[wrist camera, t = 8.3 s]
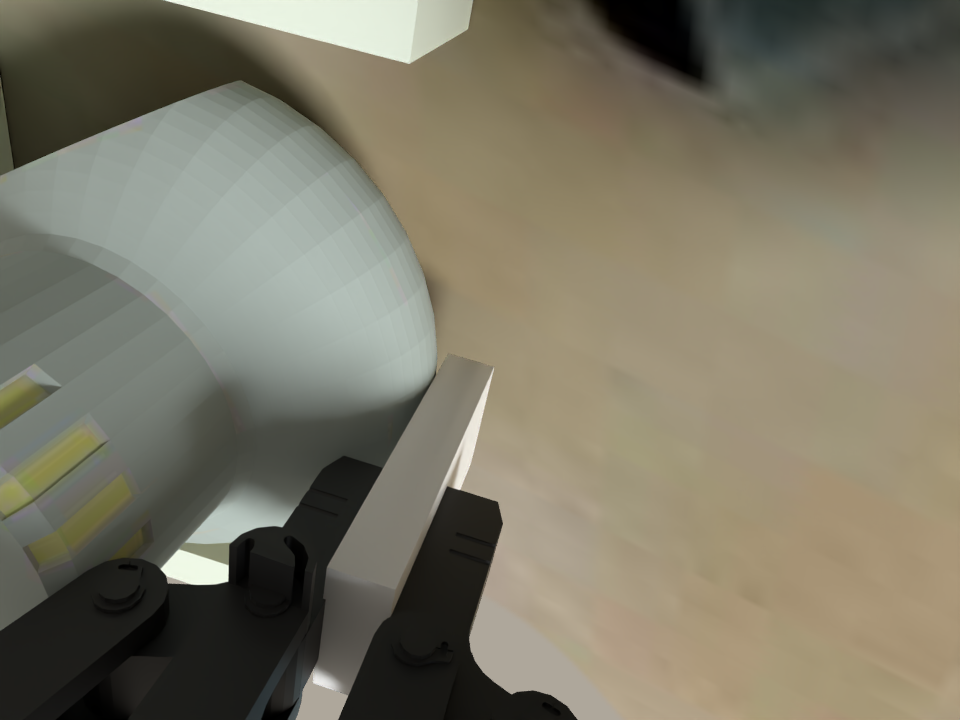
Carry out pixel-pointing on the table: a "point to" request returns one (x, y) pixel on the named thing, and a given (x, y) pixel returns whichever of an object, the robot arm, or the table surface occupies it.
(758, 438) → the table surface
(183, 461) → the air freshener
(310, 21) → the dock
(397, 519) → the robot arm
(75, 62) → the table surface
